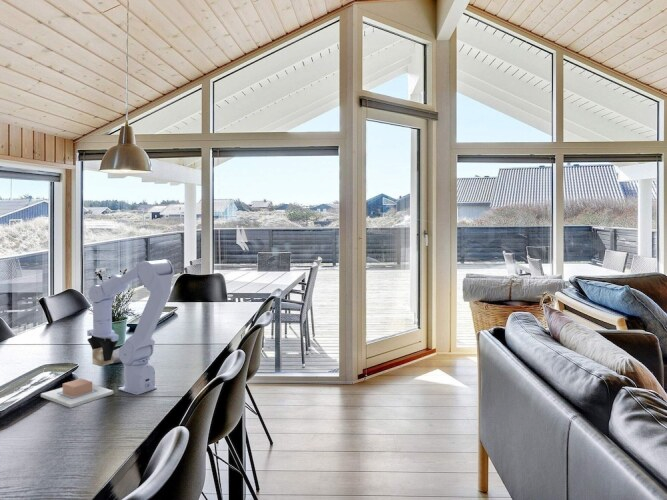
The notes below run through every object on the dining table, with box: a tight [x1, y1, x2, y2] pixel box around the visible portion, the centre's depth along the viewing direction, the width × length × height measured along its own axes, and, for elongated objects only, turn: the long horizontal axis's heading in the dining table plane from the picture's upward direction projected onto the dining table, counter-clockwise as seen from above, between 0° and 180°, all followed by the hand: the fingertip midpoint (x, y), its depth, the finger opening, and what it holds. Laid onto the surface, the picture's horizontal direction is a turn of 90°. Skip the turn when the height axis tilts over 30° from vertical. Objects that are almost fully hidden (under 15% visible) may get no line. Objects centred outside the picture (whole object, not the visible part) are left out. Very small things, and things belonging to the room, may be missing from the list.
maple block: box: [91, 347, 114, 367], centre depth 165 cm, size 5×5×5 cm
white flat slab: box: [40, 378, 115, 408], centre depth 152 cm, size 16×14×4 cm
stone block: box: [112, 347, 122, 364], centre depth 192 cm, size 12×5×10 cm
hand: (102, 359), depth 165 cm, fingers closed on maple block, 5 cm apart
